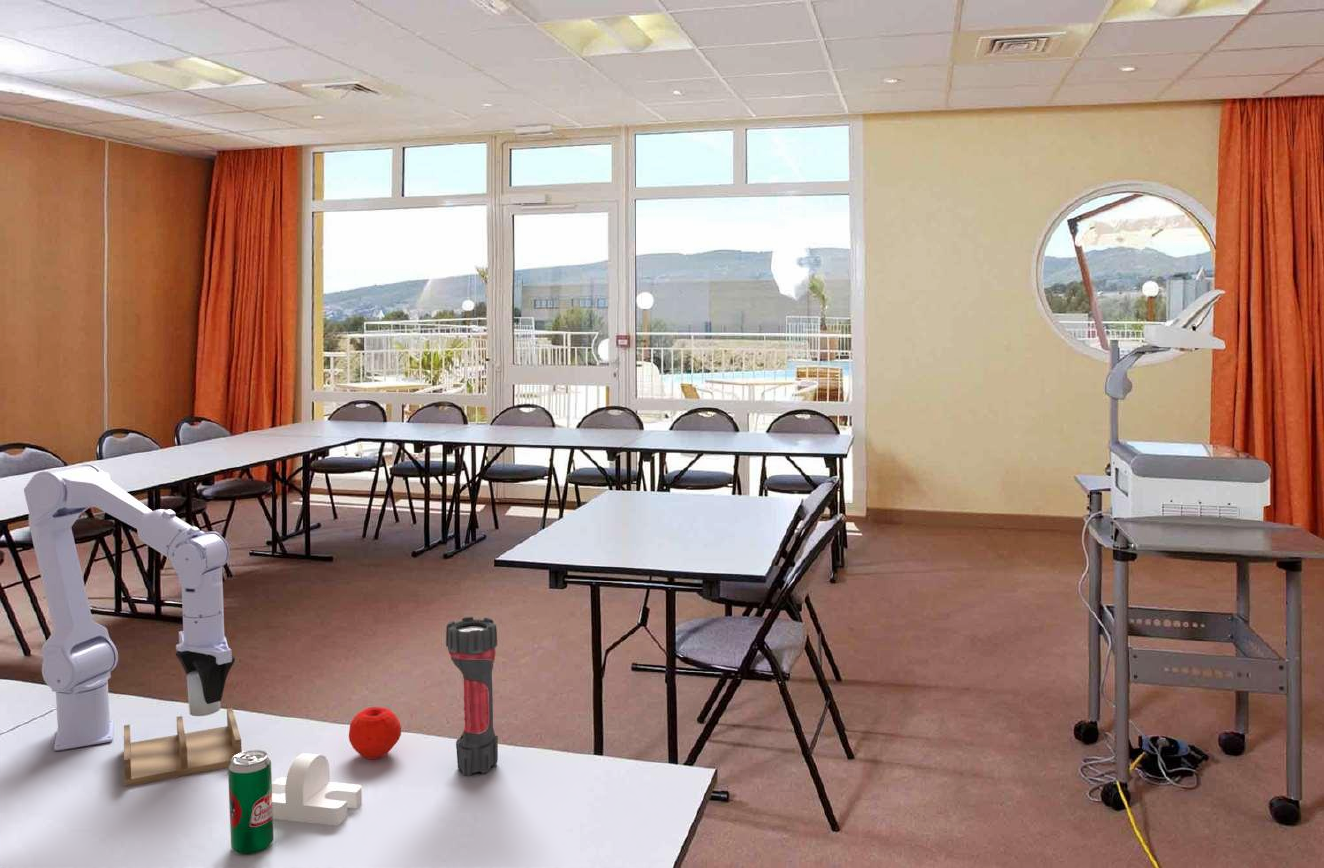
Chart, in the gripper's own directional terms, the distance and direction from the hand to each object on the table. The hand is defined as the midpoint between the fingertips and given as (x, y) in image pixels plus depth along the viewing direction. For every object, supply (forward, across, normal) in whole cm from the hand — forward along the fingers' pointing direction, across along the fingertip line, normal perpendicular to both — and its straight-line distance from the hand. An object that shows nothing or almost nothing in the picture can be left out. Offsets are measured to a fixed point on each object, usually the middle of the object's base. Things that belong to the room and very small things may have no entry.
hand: (206, 697), depth 151 cm
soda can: (+9, +32, -8) cm, 34 cm away
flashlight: (+9, +35, +25) cm, 44 cm away
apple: (+9, +20, +17) cm, 28 cm away
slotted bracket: (+9, +28, +2) cm, 30 cm away
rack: (+9, -1, -4) cm, 10 cm away
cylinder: (+2, 0, 0) cm, 2 cm away
